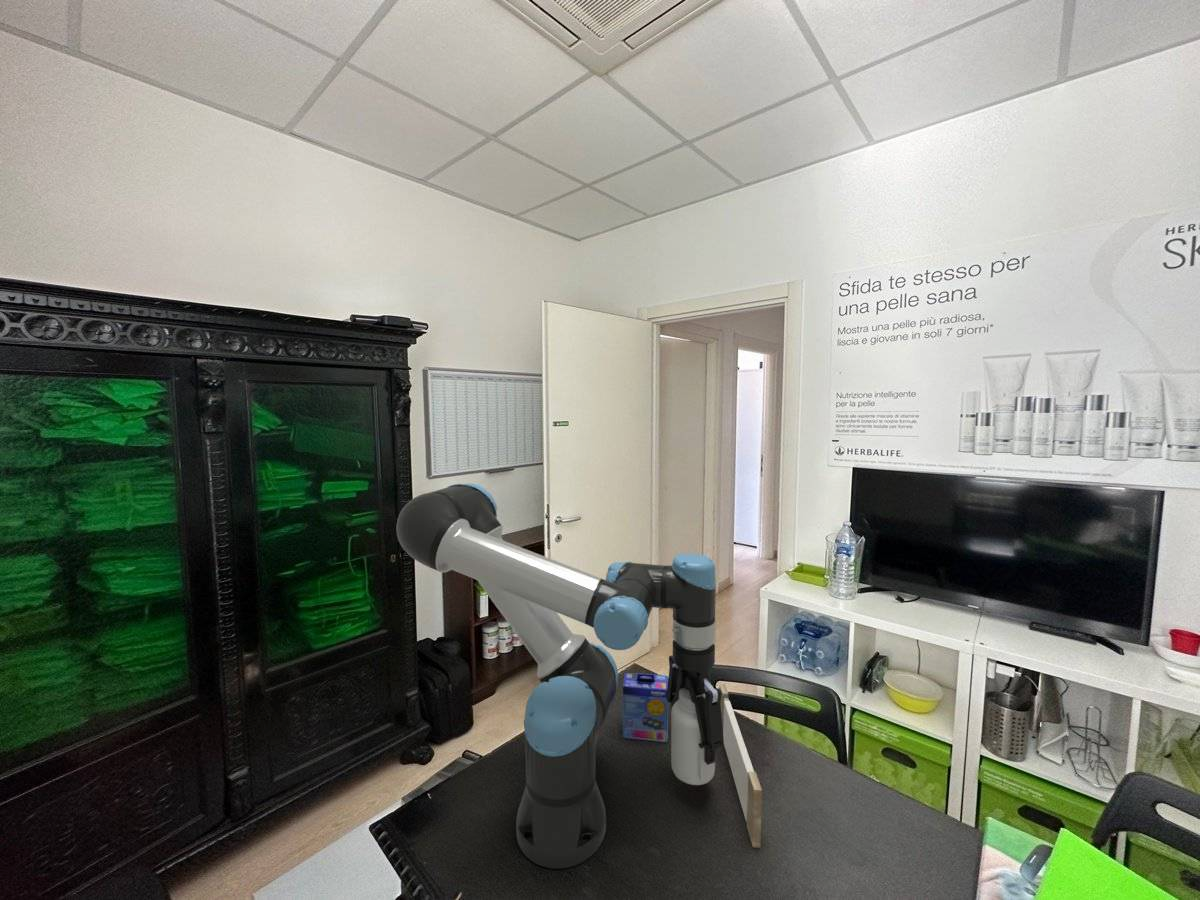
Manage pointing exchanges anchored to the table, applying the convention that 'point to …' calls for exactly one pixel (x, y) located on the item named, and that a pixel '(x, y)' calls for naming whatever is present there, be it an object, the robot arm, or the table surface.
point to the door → (736, 754)
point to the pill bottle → (686, 740)
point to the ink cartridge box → (645, 707)
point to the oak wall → (749, 793)
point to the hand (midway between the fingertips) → (692, 759)
